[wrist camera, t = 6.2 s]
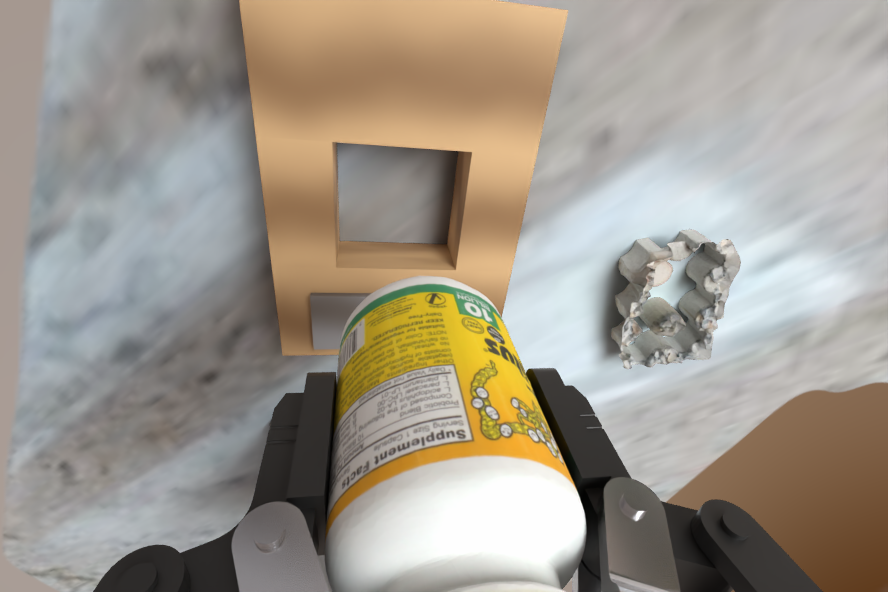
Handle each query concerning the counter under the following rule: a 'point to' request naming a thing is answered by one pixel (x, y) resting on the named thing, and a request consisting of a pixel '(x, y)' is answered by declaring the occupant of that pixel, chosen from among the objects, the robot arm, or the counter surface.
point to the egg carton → (699, 304)
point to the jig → (392, 139)
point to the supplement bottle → (443, 454)
